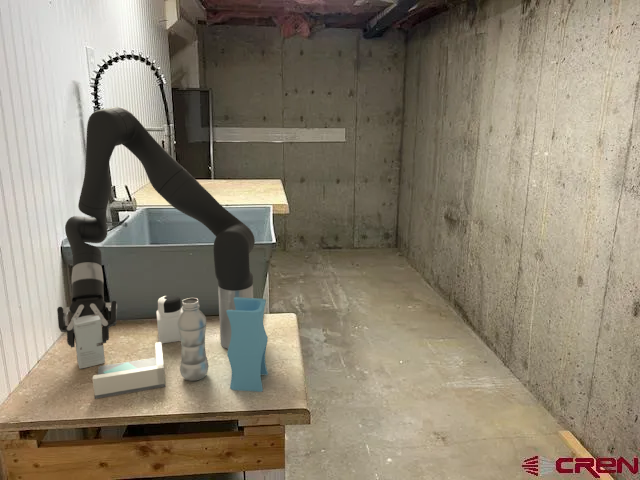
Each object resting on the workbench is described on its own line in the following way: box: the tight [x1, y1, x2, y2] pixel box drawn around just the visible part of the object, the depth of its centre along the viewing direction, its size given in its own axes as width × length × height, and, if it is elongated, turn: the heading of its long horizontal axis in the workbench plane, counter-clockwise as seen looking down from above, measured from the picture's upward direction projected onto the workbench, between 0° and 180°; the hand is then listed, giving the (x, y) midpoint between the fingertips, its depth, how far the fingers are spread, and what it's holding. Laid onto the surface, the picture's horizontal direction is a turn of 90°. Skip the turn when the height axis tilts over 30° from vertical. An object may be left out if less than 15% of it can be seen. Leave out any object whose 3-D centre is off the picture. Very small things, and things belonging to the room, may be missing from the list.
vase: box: [226, 297, 269, 393], centre depth 111 cm, size 8×8×20 cm
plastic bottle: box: [178, 297, 210, 382], centre depth 113 cm, size 6×7×20 cm
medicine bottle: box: [155, 294, 184, 345], centre depth 133 cm, size 7×7×12 cm
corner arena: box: [92, 341, 166, 399], centre depth 114 cm, size 15×13×5 cm
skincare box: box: [73, 314, 106, 370], centre depth 119 cm, size 6×4×12 cm
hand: (88, 344), depth 118 cm, fingers closed on skincare box, 6 cm apart
